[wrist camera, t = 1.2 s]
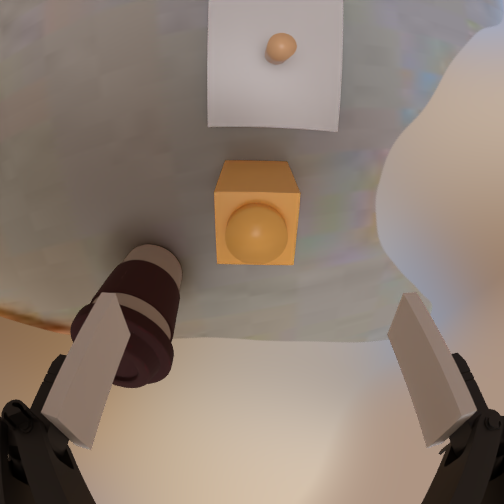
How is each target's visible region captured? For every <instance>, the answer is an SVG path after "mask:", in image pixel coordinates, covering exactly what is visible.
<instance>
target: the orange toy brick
mask: <svg viewBox="0 0 504 504" xmlns="http://www.w3.org/2000/svg"><path fill="white" fill-rule="evenodd" d="M300 194H301V193H300V191H299V189H298V186H297V184H296V181H295V179H294V176H293V174H292V172H291V169H290V167H289V165H288V162H287V161H255V160H225V163H224V165H223V168H222V171H221V174H220V176H219V179H218V182H217V185H216V188H215V191H214V203H215V228H216V249H217V264H252V265H293V264H294V255H295V246H296V236H297V226H298V216H299V205H300Z"/></svg>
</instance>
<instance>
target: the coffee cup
mask: <svg viewBox="0 0 504 504" xmlns="http://www.w3.org/2000/svg"><path fill="white" fill-rule="evenodd" d="M181 281H182V269H181V266H180V263H179V262H178V260H177V259H176V257H175V256H174V255H173V254H172V253H171V252H169V251H168V250H166V249H165V248H162V247H160V246H157V245H149V244H146V245H141V246H138V247H136V248H134V249H133V250H132V251H131V252H130V253H129V254H128V255H127V257H126V258H125V259H124V260H123V262H122V263H121V264H120V265H118V266H117V267H116V268H115V269H114V270H113V272H112V273H111V274H110V276H109V277H108V278H107V280H106V281H105V282H104V284H103V285H102V286H101V288H100V289H99V290H98V292H97V293H96V295H95V296H94V297H93V299H92V301H91V303H90V304H88V305H86V306H85V307H83V308H82V309H81V310H80V311H79V312H78V314H77V315H76V317H75V319H74V321H73V323H72V325H71V338H72V341H73V343H74V341H75V339H76V337H77V335H78V333H79V331H80V330H81V328H82V326H83V324H84V322H85V320H86V319H87V317H88V315H89V313H90V311H91V310H92V308H93V306H94V304H95V303H96V301H97V299H98V298H99V296H100V294H101V292H103V293H116V296H117V299H118V302H119V305H120V308H121V311H122V313H123V316H124V319H125V322H126V324H127V327H128V329H129V332H130V338H129V340H128V343H127V345H126V348H125V350H124V353H123V356H122V358H121V361H120V364H119V366H118V369H117V372H116V375H115V377H114V380H113V383H112V384H114V385H117V386H121V387H126V388H138V387H141V386H144V385H146V384H150V383H155V382H158V381H160V380H162V379H164V378H165V377H166V376H167V375H168V373H169V372H170V370H171V366H172V362H173V356H174V351H173V346H172V344H171V341H172V339H173V334H174V328H175V322H176V317H177V311H178V306H179V300H180V294H179V290H180V286H181Z"/></svg>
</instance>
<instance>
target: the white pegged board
mask: <svg viewBox="0 0 504 504" xmlns="http://www.w3.org/2000/svg"><path fill="white" fill-rule="evenodd" d="M342 53H343V0H209V10H208V59H207V104H208V127H275V128H295V129H309V130H322V131H332V132H338V122H339V109H340V95H341V77H342Z"/></svg>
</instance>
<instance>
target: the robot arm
mask: <svg viewBox="0 0 504 504" xmlns="http://www.w3.org/2000/svg"><path fill="white" fill-rule="evenodd" d="M387 335H388V337H389V340H390V342H391V345H392V347H393V350H394V353H395V355H396V358H397V360H398V363H399V366H400V368H401V371H402V374H403V376H404V379H405V382H406V384H407V387H408V390H409V393H410V396H411V399H412V402H413V405H414V408H415V410H416V414H417V417H418V420H419V423H420V426H421V429H422V433H423V436H424V440H425V443H426V446H427V448H429V447H432V446H435V445H439V444H442V443H443V442H444V441H445V440H446V439H447V438H449V439H450V443H449V444H448V445H446V446H445V447H444V448H443V449H442V450H441V451H440V452H439V454H440V455H441V454H442V453H443V452H444V451H445V454H444V456H443V459H442V461H441V463H440V466H439V468H438V471H437V473H436V475H435V477H434V479H433V481H432V483H431V486H430V488H429V490H428V492H427V494H426V496H425V498H424V500H423V502H422V503H421V504H504V416H500V414H499V413H498V412H496V411H495V410H491V409H488V407H487V405H486V403H485V401H484V398H483V396H482V394H481V392H480V390H479V387H478V385H477V383H476V381H475V380H474V377H473V375H472V373H471V372H470V369H469V367H468V365H467V363H466V361H465V360H464V359H463V358H462V357H461V356H460V355H459V354H458V353H455V354H451V353H450V351H449V349H448V347H447V345H446V343H445V341H444V339H443V338H442V336H441V334H440V332H439V330H438V328H437V326H436V325H435V323H434V321H433V319H432V318H431V316H430V314H429V312H428V311H427V309H426V307H425V305H424V304H423V302H422V300H421V299H420V297H419V295H418V294H417V292H414V293H403V295H402V298H401V301H400V304H399V306H398V309H397V311H396V314H395V317H394V319H393V322H392V324H391V327H390V329H389V332H388V334H387ZM129 338H130V332H129V329H128V327H127V324H126V322H125V319H124V316H123V313H122V311H121V308H120V305H119V302H118V299H117V296H116V293H103V292H101V294H100V296H99V298H98V299H97V301H96V303H95V304H94V306H93V308H92V310H91V311H90V313H89V315H88V317H87V319H86V320H85V322H84V324H83V326H82V328H81V330H80V331H79V333H78V335H77V337H76V339H75V341H74V343H73V345H72V347H71V349H70V351H69V353H68V354H67V356H66V355H61V354H60V355H59V356H58V357H57V358H56V359H55V360H54V361H53V362H52V364H51V366H50V368H49V370H48V374H46V376H45V378H44V382H42V384H41V386H40V388H39V391H38V393H37V395H36V397H35V399H34V401H33V404H32V406H31V408H30V409H29V408H28V407H27V406H26V405H25V404H24V403H23V402H22V401H20V400H12V401H10V402H8V403H7V404H6V405H5V407H4V408H3V411H2V418H1V417H0V504H96V503H95V501H94V499H93V497H92V495H91V493H90V491H89V490H88V487H87V485H86V483H85V481H84V479H83V477H82V475H81V473H80V471H79V468H78V466H77V464H76V461H75V459H74V457H73V454H72V452H71V450H70V448H69V446H68V445H67V444H68V441H69V440H70V441H71V442H73V443H74V444H75V445H77V446H80V447H83V448H86V449H90V450H91V448H92V445H93V441H94V438H95V435H96V432H97V428H98V425H99V422H100V418H101V416H102V412H103V409H104V406H105V403H106V400H107V397H108V394H109V392H110V389H111V386H112V383H113V380H114V377H115V375H116V372H117V369H118V366H119V364H120V361H121V358H122V356H123V353H124V350H125V348H126V345H127V343H128V340H129Z"/></svg>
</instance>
